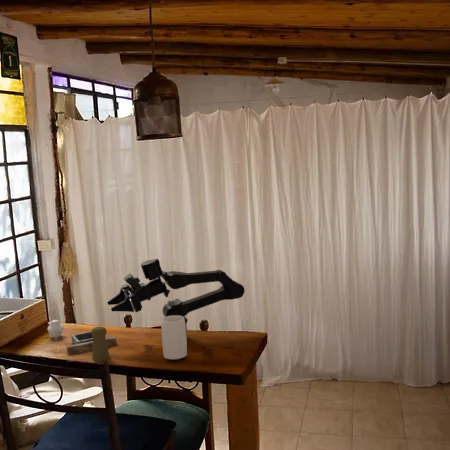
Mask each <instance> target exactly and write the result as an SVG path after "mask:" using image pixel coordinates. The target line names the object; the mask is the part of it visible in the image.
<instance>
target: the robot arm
mask: <svg viewBox="0 0 450 450" xmlns="http://www.w3.org/2000/svg"><path fill="white" fill-rule="evenodd" d="M140 267H141V270H142V273H143V275H144V279H146V280H148V282H146V283H144V282H141V280H140V278H139V277H138V276H134V275H133V274H132V273H131V272H129V273H128V274H126V276H124V277H123V280H124V281H125V282H126V283H127V284H123V285H121V287H120V290H119V293H118V294H116V295H115V296H114V297H112V298H111V299H109V300H108V301H107V305H108V306H112V307H111V308H110V310H111V312H127V313H128V312H131V313H138V312H140V311H142V309H143V305H142V303H143V302H145V301H148V302H149V301H152V298H154V297H156V296H159V295H161V294H163V296H164V297H165V298H168V297H169V294H170V292H171V290H170V289H168V288H167V286H168V287H169V288H171V289H172V290H179V289H183V288H186V287H187V286H190V285H194V284H197V285H198V284H207V283H216V282H218V283H220V285H221V286H220V287H219V288H218V289H215V290H213V291H210V292H207V293H205V294H202V295H199V296H196V297H192V298H190V299H187V300H185V301H182V300H180V298H176V299H173V300H169V301H167V303H166V304H164V305H163V307H162V314H163V316H164V317H167V316H172V315H179V316H183V317H184V318H185V325H186V338H187V341H188V340H189V337H188V331H187V328H188V327H187V324H188V318H187V317H186V316H187V315H188V314H189V313H192V312H195V311H197V310H199V309H201V308H204V307H207V306H210V305H213V304H216V303H219V302H221V301H224V300H225V301H227V300H230V301H231V300H237V299H240V298H242V297H243V296H244V294H245V286H243V284H241V283H239V282H238V281H236V280H233V279H232V278H231V277H230V276H229V275H227V273H226V272H225V271H223V270H221V269H217V270H208V271H197V272H182V271H174V270H173V271H172V270H171V271H170V270H169V271H168V272H167V271H164V270H162V267H161V263H160V259H158V258H155V259H150V260H148V259H147V260H145V261H143V262H141V263H140ZM162 279H163V280H164V281H162ZM113 305H114V306H113Z"/></svg>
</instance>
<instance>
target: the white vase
mask: <svg viewBox="0 0 450 450" xmlns="http://www.w3.org/2000/svg"><path fill="white" fill-rule="evenodd" d="M47 331H48V334H49V335H50V336H51V338H52V339H57V338H61V336H62V333H63V331H64V325H63V324H62V323H61V321H60V320H58V319H53V320H51V321H50V324H49V326H47Z"/></svg>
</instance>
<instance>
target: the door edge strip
mask: <svg viewBox="0 0 450 450" xmlns="http://www.w3.org/2000/svg"><path fill="white" fill-rule="evenodd" d="M105 338H106V342H107V347H109V346H114V345H117V337H116V336H110V337H105ZM90 350H93V341H90V342H85V343H80V344H75V345H74V344H71V345H67V346H66V353H67V355H72V354H77V353H80V352H81V353H82V352H85V351H90Z"/></svg>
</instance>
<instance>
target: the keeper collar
mask: <svg viewBox="0 0 450 450" xmlns="http://www.w3.org/2000/svg"><path fill="white" fill-rule="evenodd" d="M91 331H92V330H91ZM91 331H86V332H82V333H81V332H80V333H77V334H72V335H71V342H72V345H75V344H80V343H85V342H90V341H93V337H92V334H91Z"/></svg>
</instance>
